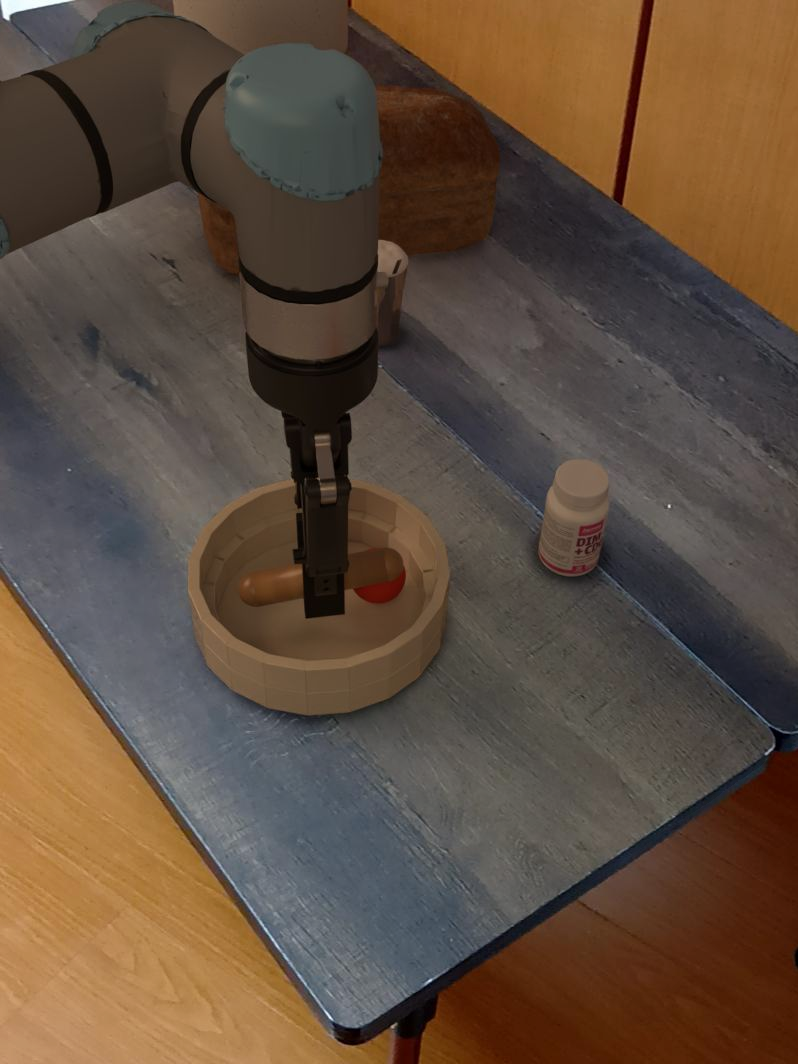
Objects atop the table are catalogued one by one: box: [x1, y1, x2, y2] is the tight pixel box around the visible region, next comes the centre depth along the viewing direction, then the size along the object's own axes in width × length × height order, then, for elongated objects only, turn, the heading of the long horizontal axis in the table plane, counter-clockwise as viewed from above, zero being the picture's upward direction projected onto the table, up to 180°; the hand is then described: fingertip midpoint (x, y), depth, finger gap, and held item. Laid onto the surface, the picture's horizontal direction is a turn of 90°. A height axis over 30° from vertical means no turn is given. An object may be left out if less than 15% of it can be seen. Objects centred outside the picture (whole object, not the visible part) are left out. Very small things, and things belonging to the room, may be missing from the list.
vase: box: [172, 0, 349, 56], centre depth 131 cm, size 17×17×24 cm
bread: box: [196, 85, 501, 276], centre depth 121 cm, size 12×28×14 cm, turn 111°
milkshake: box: [375, 240, 409, 347], centre depth 113 cm, size 4×5×10 cm
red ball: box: [353, 548, 406, 604], centre depth 94 cm, size 4×4×4 cm
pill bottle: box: [537, 458, 611, 577], centre depth 98 cm, size 5×5×8 cm
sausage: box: [238, 547, 404, 607], centre depth 91 cm, size 11×2×2 cm
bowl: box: [187, 478, 451, 716], centre depth 93 cm, size 18×18×6 cm
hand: (321, 595), depth 92 cm, fingers closed on sausage, 2 cm apart
